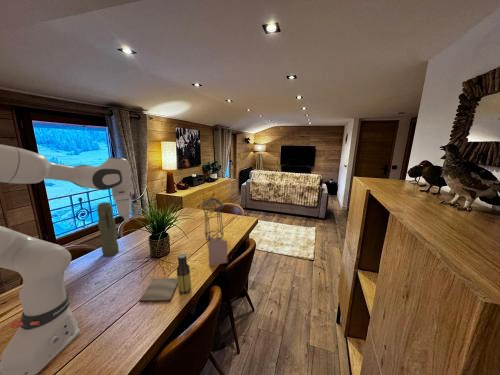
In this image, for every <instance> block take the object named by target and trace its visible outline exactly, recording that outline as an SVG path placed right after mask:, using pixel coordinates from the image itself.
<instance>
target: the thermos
mask: <svg viewBox="0 0 500 375" xmlns="http://www.w3.org/2000/svg"><path fill="white" fill-rule="evenodd" d="M96 210H97V216H98V222H97V225H98V231H99V233H100V238H101V240H100V241H101V252H102V256H103V257H104V258H109V257H113V256H116V255H118V253H119V252H120V251H119V242H118V240H117V233H116V228H117V227H116V225H117V224H116V219H115V218H114V215H113V213H114V212H113V206H112V205H111V203H110V202H101V203H98V204H97V208H96Z"/></svg>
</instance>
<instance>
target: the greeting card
mask: <svg viewBox="0 0 500 375" xmlns="http://www.w3.org/2000/svg"><path fill="white" fill-rule="evenodd" d="M210 241H211V243H210V242H209V243H208V266H209V265H211V266H216V264H217V265H222V264H227V263H228V240H222V239H221V240H218V239H216V238H213V237H210Z"/></svg>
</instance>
